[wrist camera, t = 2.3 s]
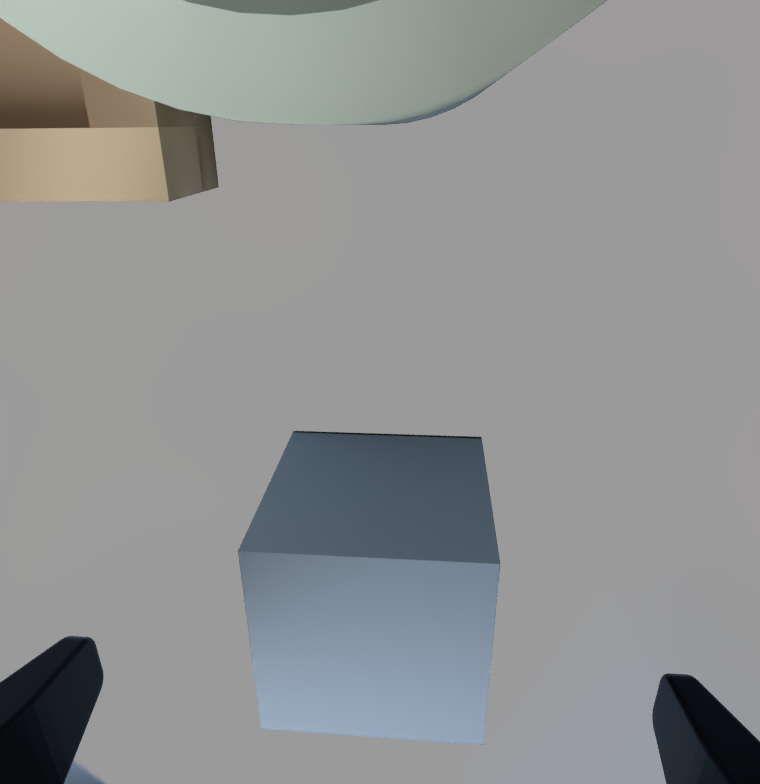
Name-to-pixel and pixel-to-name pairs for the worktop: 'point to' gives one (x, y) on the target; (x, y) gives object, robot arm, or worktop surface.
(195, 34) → the cup
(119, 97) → the tray
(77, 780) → the worktop surface
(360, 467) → the block
